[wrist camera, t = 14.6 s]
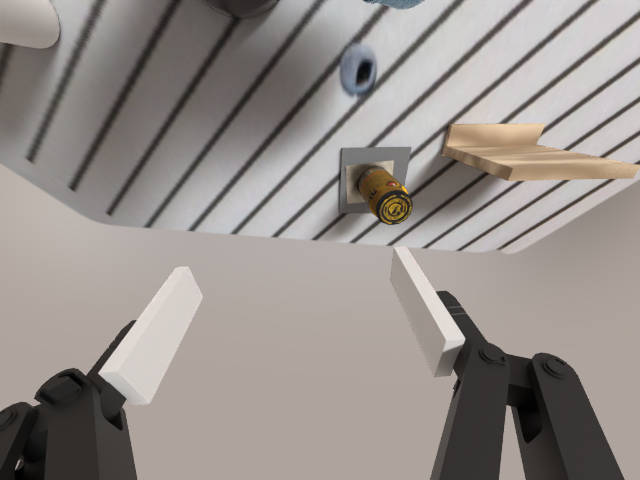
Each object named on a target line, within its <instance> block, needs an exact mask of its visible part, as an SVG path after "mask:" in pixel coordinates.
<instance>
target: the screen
mask: <svg viewBox="0 0 640 480" xmlns="http://www.w3.org/2000/svg"><path fill="white" fill-rule="evenodd" d="M544 126H545V124H541V123H532V124H449V127H448V131H447V135H446V139H445V143H444V147H443V151H442V156H444V157H447V156H448V157H451V158H453V159H455V160H458V161H460V162H463V163H465V164H468V165H470V166H473V167H475V168H478V169H480V170H482V171H485V172H487V173H490V174H492V175H495V176H497V177H500V178H502V179H505V180H507V181H526V180H571V179H617V178H633V177H634V176H635V174H636V173H637V171H638V170H639V168H640V165H635V164H630V163H625V162H620V161H615V160H610V159H605V158H600V157H595V156H590V155H585V154H580V153H575V152H570V151H565V150H560V149H555V148H550V147H545V146H540V145H536V144H537V141H538V139H539V137H540V135H541V132H542V130H543V128H544Z"/></svg>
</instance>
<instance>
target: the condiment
mask: <svg viewBox="0 0 640 480" xmlns="http://www.w3.org/2000/svg"><path fill="white" fill-rule="evenodd" d="M393 166H394V160H393V161H383V162H373V163H366V164H356V165H348V166H346V183H347V204H352V203H360V202H366V203H367V205H368V207H369V209H370V210H371V212H372V213H373V214H374V215H375V216H376V217H378V219H379V220H380V221H381V222H383V223H385V224H388V225H394V224H399V223H401V222H402V221H404V220H406V219H407V218H408V216H409V215H410V213H411V211H412V206H413V203H412V200H411V197H410V195H408V192H407V190H406V189H405V187H404V186H403V185H402V184H401V183H400V182H399V181H398V180H397V179H395V178H394V177H393ZM357 191H358V192H357Z"/></svg>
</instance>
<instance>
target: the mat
mask: <svg viewBox="0 0 640 480" xmlns="http://www.w3.org/2000/svg"><path fill="white" fill-rule="evenodd" d="M410 152H411V147H374V148H342V155H341V179H340V203H339V213H363V212H371V210H370V209H369V207H368V205H367V203H366V202H360V203H352V204H347V183H346V166H348V165H356V164H366V163H373V162H383V161H393V160H394V166H393V177H394V178H395V179H397V180H398V181H399V182H400V183H401V184H402V185H403V186H404V185H405V179H406V174H407V169H408V163H409V158H410ZM357 192H358V191H357Z"/></svg>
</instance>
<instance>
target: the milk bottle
mask: <svg viewBox="0 0 640 480" xmlns="http://www.w3.org/2000/svg"><path fill="white" fill-rule="evenodd" d="M59 32H60V26H59V20H58V16H57V13H56V11H55V9H54V7H53V5H52V3H51V1H50V0H0V42H4V43H9V44H15V45H20V46H26V47H31V48H39V49H43V48H48V47H50V46H52V45H53V44H55V42H56V41H57V40H58V37H59Z"/></svg>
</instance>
